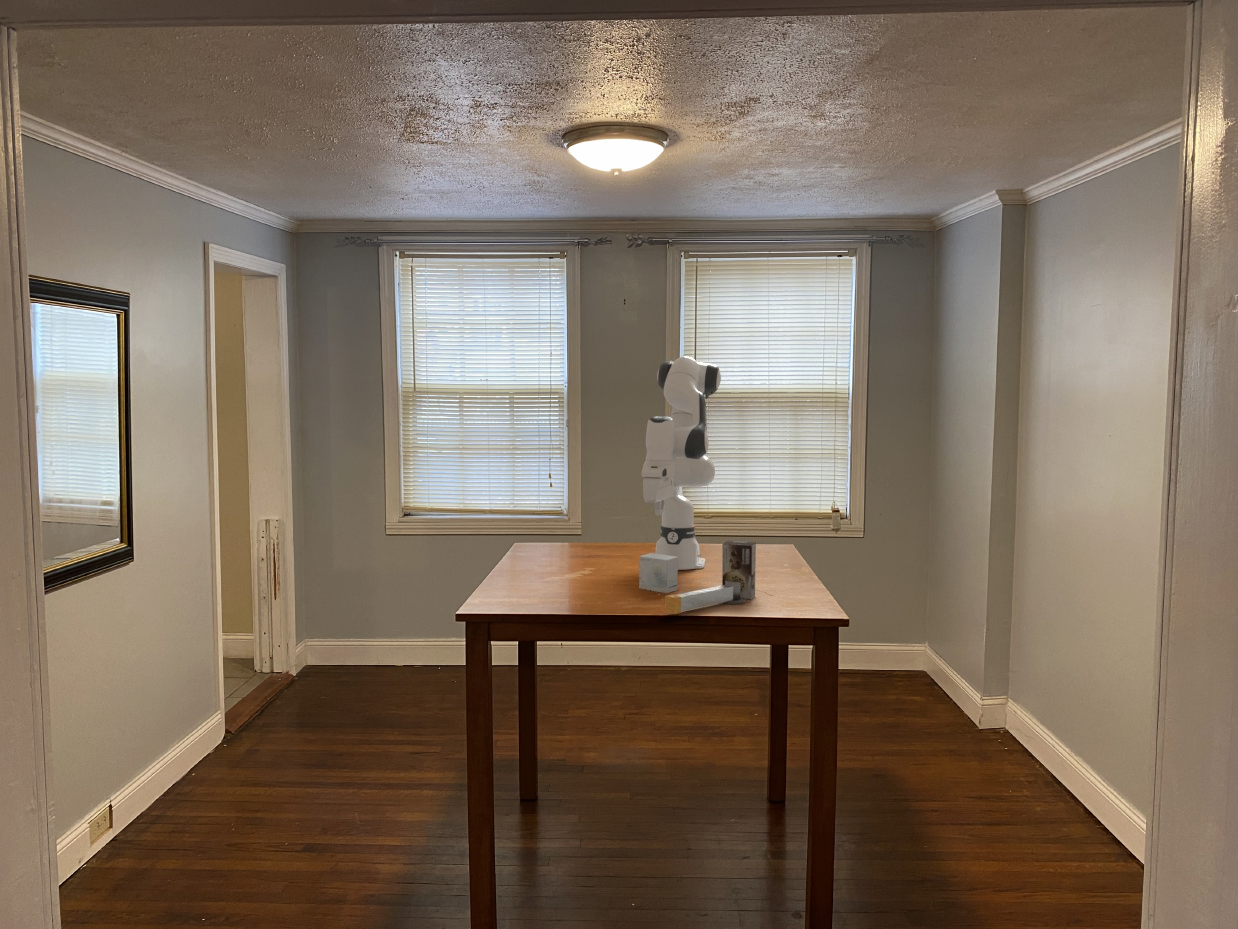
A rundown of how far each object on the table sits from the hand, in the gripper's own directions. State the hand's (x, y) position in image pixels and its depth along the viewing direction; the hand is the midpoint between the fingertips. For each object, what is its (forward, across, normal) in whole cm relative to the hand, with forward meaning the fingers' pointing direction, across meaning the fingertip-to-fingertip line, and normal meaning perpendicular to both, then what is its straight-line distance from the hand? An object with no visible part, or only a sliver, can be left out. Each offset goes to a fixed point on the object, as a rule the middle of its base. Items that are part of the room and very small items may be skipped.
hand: (659, 514), depth 271 cm
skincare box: (+23, 0, 0) cm, 23 cm away
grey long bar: (+22, +18, +19) cm, 35 cm away
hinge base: (+23, +8, +25) cm, 35 cm away
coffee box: (+23, 0, +25) cm, 34 cm away
